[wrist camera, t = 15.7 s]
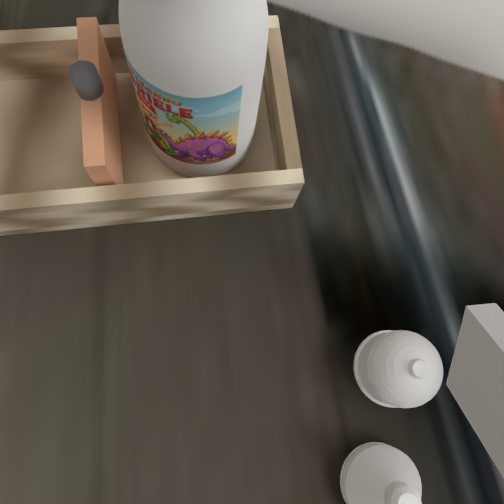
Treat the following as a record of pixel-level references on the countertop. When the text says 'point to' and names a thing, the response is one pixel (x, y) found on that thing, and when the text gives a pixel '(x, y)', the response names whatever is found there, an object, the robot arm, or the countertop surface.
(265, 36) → the milk bottle
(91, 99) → the pusher
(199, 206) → the wooden box
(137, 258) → the countertop surface
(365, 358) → the container set
